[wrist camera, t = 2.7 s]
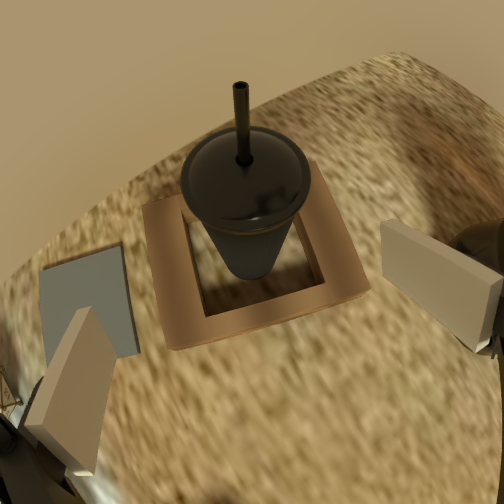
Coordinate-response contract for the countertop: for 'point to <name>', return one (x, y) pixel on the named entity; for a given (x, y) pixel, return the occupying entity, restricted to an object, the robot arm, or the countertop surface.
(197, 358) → the countertop surface
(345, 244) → the holder frame
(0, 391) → the game die
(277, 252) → the drinking cup
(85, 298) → the slate mat
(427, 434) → the countertop surface
